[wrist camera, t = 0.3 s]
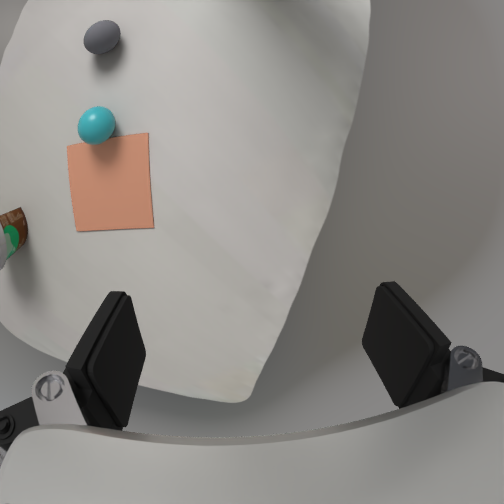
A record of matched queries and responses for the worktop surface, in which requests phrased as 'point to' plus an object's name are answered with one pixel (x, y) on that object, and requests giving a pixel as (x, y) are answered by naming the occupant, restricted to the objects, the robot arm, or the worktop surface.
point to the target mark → (111, 183)
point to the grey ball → (102, 37)
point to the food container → (12, 233)
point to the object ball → (96, 125)
